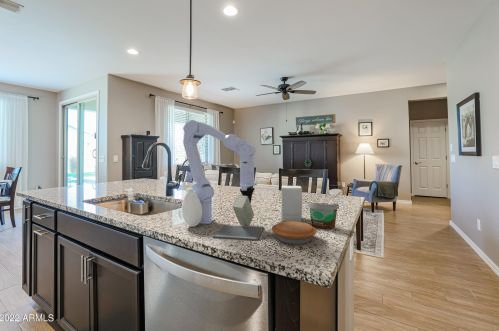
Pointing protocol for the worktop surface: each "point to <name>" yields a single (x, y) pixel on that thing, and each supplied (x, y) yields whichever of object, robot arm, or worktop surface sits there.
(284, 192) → the supplement box
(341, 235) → the worktop surface
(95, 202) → the worktop surface
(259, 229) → the mat
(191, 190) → the white ellipsoid
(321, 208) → the food container
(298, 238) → the pie
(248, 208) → the skincare box
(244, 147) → the robot arm
